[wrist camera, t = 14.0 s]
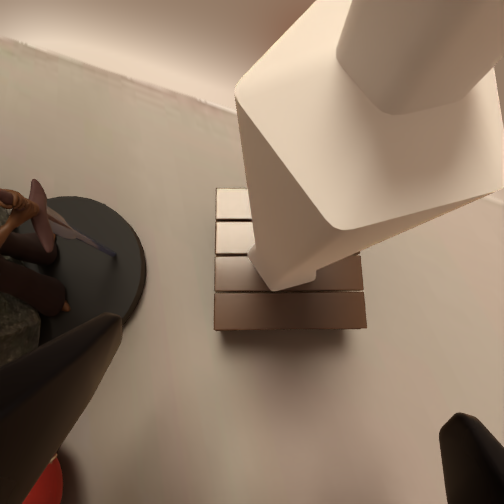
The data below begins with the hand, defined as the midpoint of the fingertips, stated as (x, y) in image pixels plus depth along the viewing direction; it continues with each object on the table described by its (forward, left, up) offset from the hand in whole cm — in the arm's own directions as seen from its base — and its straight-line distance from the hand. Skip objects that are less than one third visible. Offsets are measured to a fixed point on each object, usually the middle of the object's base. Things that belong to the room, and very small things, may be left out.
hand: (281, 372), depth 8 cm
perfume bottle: (+1, +5, -8) cm, 9 cm away
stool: (+1, +5, -12) cm, 13 cm away
